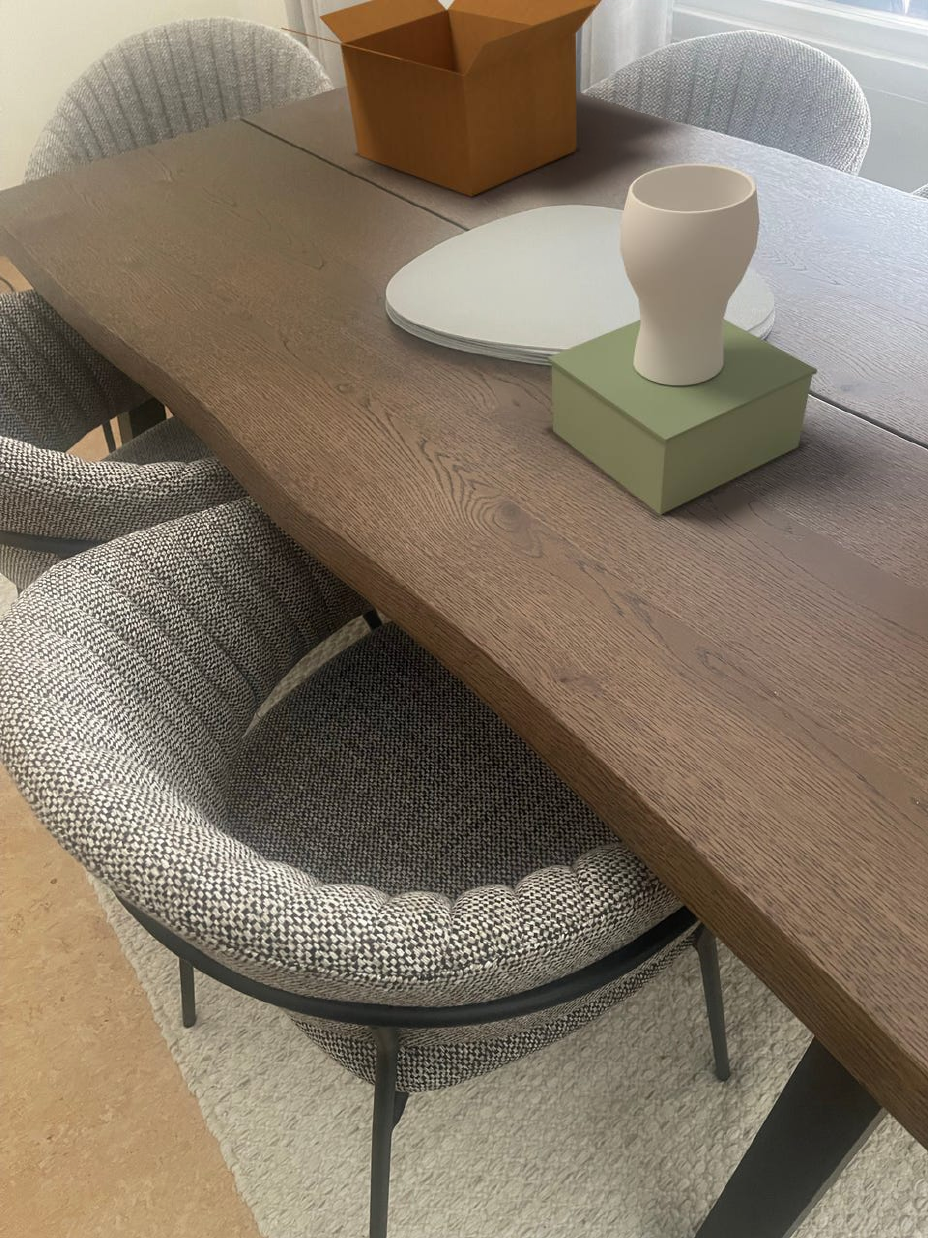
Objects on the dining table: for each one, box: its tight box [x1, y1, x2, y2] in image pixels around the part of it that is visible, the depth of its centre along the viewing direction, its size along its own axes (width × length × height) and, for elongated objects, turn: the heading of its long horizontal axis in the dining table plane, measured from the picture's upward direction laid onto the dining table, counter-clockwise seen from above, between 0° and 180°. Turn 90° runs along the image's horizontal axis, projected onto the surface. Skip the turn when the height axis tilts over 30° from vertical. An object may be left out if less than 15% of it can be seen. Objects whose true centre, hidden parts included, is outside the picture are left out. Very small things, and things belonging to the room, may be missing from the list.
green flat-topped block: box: [547, 318, 818, 516], centre depth 85 cm, size 16×16×8 cm
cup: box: [619, 163, 761, 385], centre depth 77 cm, size 11×11×15 cm
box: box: [280, 0, 602, 197], centre depth 137 cm, size 39×37×21 cm
